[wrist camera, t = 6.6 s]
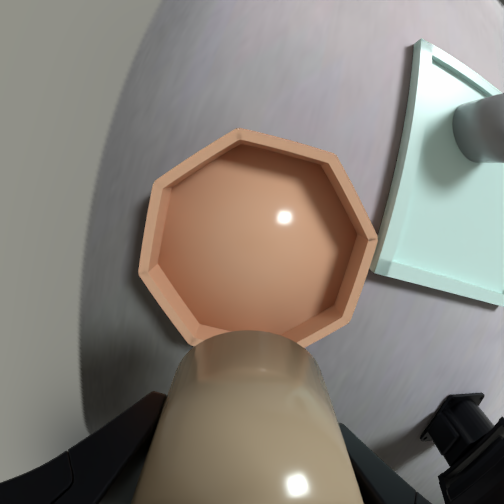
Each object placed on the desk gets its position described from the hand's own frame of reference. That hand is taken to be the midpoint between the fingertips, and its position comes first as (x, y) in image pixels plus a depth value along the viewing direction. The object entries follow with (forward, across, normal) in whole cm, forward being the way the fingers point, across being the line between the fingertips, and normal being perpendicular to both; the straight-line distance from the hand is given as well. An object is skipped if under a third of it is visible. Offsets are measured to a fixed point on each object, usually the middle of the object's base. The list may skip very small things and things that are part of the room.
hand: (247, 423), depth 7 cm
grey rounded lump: (+11, -13, -15) cm, 23 cm away
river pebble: (+1, 0, 0) cm, 1 cm away
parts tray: (+12, -15, -11) cm, 23 cm away
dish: (+12, 0, -2) cm, 12 cm away
